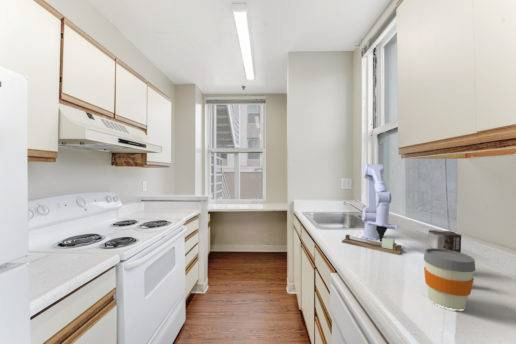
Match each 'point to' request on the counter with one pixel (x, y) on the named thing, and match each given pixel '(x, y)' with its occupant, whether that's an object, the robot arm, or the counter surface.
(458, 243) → the coffee box
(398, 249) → the rod board
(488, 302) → the counter surface
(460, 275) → the reusable coffee cup
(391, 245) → the sleeve
